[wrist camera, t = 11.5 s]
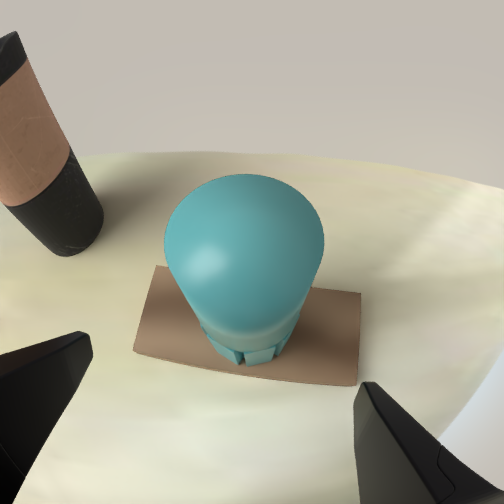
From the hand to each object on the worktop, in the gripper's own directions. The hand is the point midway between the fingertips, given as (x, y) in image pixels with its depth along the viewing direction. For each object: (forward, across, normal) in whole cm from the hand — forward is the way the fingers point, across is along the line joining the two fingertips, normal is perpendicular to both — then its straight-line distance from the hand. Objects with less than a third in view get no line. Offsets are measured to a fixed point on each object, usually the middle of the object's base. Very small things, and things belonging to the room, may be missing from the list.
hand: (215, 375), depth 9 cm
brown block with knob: (+12, 0, +6) cm, 14 cm away
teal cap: (+12, 0, +5) cm, 13 cm away
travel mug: (+17, +19, +1) cm, 26 cm away
